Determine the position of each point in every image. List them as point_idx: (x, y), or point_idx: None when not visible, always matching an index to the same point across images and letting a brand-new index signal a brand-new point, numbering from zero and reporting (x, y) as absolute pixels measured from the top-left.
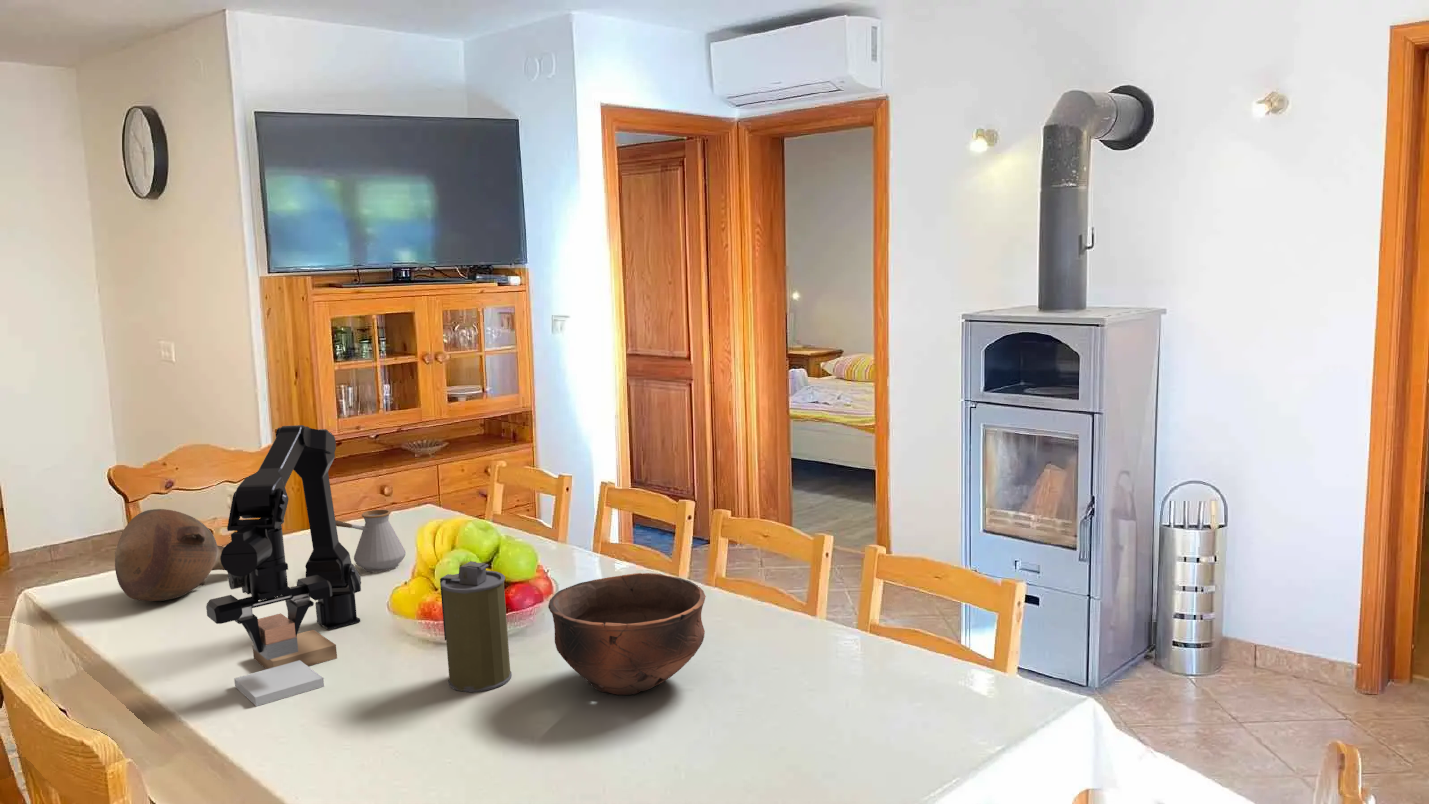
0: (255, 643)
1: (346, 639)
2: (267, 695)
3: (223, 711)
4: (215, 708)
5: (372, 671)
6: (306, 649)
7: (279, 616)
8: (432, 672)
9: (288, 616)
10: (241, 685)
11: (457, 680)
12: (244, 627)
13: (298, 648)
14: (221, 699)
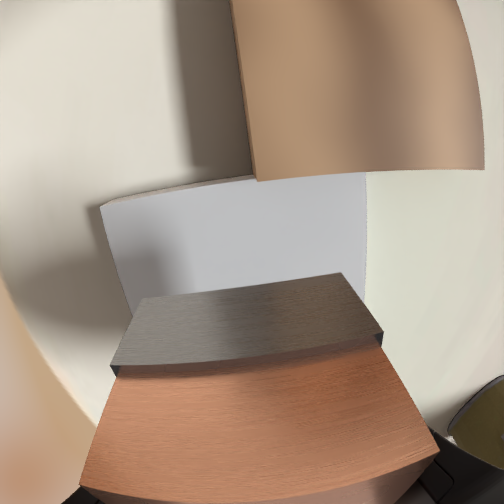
0: None
1: (486, 45)
2: None
3: (97, 355)
4: (76, 328)
5: (455, 318)
6: (412, 131)
7: (370, 501)
8: (483, 366)
9: (415, 489)
10: (123, 290)
11: (454, 436)
12: (70, 501)
13: (390, 90)
14: (81, 280)
